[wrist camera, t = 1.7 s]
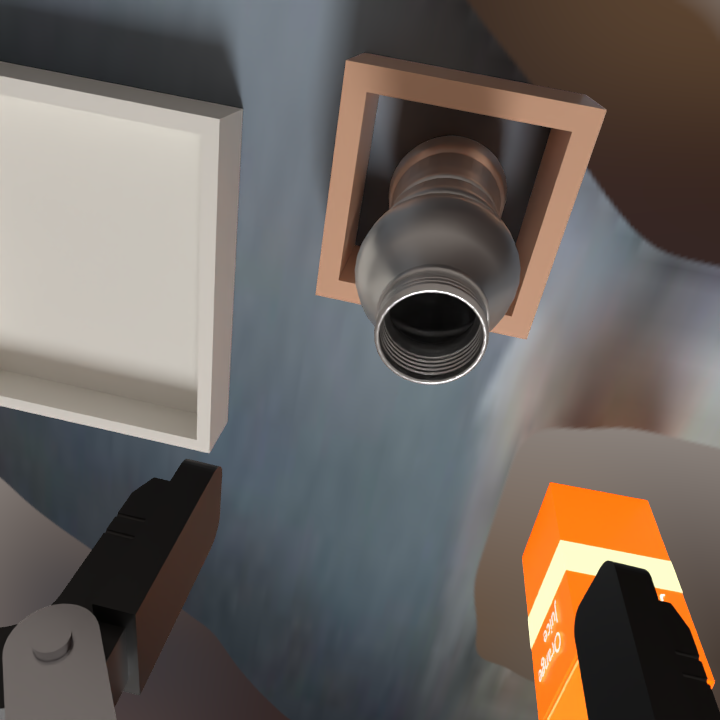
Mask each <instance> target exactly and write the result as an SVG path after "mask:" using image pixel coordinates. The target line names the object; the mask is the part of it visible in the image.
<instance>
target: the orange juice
mask: <svg viewBox="0 0 720 720" xmlns="http://www.w3.org/2000/svg"><path fill="white" fill-rule="evenodd" d="M522 560H523V569H524V580H525V589H526V599H527V609H528V625H529V635H530V645H531V649H532V657H533V668H534V677H535V687H536V697H537V707H538V716H539V720H588V716H587V710H586V704H585V698H584V692H583V686H582V680H581V674H580V668H579V662H578V656H577V650H576V644H575V638H574V622H575V616H576V612H577V609H578V606H579V604H580V602H581V601H582V599H583V597H584V595H585V594H586V592H587V590H588V588H589V587H590V585H591V583H592V581H593V579H594V578H595V576H596V574H597V572H598V571H599V569H600V567H601V566H602V564H603V563H604V562H605V561H608V560H609V561H613V562H617V563H622V564H626V565H630V566H634V567H638V568H643V569H646V570H647V571H648V572H649V573H650V575H651V577H652V580H653V583H654V586H655V589H656V593H657V596H658V599H659V600H660V601H665V602H669V603H671V604H672V605H673V606H674V608H675V609H676V611H677V612H678V613H679V615H680V616H681V617H682V619H683V620H684V621H685V623H686V624H687V626H688V627H689V628H690V630H691V633H692V636H693V639H694V642H695V644H696V647H697V650H698V653H699V661H702V664H703V667H704V670H705V672H706V675H707V678H708V679H707V683H708V684H710V686H711V685H712V686H711V689H712V687H713V685H714V678H713V676H712V673H711V671H710V668H709V665H708V662H707V660H706V657H705V654H704V651H703V649H702V646H701V643H700V641H699V638H698V635H697V632H696V630H695V627H694V624H693V622H692V619H691V616H690V614H689V611H688V608H687V605H686V603H685V600H684V598H683V595H682V593H683V592H682V589H681V587H680V584H679V581H678V579H677V576H676V574H675V571H674V568H673V565H672V563H671V561H670V560H669V557H668V554H667V551H666V549H665V546H664V543H663V541H662V538H661V535H660V533H659V530H658V527H657V524H656V522H655V519H654V516H653V514H652V511H651V508H650V506H649V503H648V501H647V500H643V499H637V498H632V497H627V496H621V495H616V494H610V493H605V492H600V491H595V490H589V489H583V488H578V487H573V486H568V485H563V484H557V483H552V482H550V484H549V487H548V489H547V492H546V495H545V497H544V500H543V503H542V506H541V508H540V511H539V514H538V516H537V519H536V522H535V524H534V527H533V530H532V532H531V535H530V538H529V540H528V543H527V546H526V549H525V551H524V554H523V557H522Z"/></svg>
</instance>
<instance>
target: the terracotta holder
mask: <svg viewBox="0 0 720 720" xmlns="http://www.w3.org/2000/svg"><path fill="white" fill-rule="evenodd" d="M379 95H384V96H389V97H394V98H400V99H405V100H410V101H415V102H420V103H425V104H431V105H436V106H441V107H446V108H451V109H457V110H462V111H467V112H472V113H477V114H482V115H488V116H493V117H498V118H503V119H508V120H514V121H519V122H524V123H529V124H534V125H539V126H545V127H550V128H551V131H550V134H549V138H548V141H547V144H546V147H545V151H544V154H543V157H542V160H541V163H540V167H539V170H538V173H537V176H536V180H535V183H534V186H533V189H532V193H531V196H530V199H529V202H528V206H527V209H526V212H525V215H524V218H523V222H522V225H521V228H520V231H519V235H518V238H517V241H516V244H515V245H516V248H517V251H518V253H519V260H520V268H521V270H520V281H519V286H518V289H517V292H516V295H515V298H514V300H513V302H512V303H511V305H510V307H509V309H508V310H507V312H506V314H505V315H504V317H503V318H502V319H501V320H500V322H499V323H498V324H497V325H496V326H495V327H494V329H492V330H491V331H490V332H494V333H499V334H503V335H508V336H513V337H518V338H522V339H527V336H528V334H529V331H530V328H531V325H532V322H533V319H534V316H535V314H536V311H537V308H538V305H539V302H540V299H541V296H542V294H543V291H544V288H545V285H546V282H547V279H548V276H549V274H550V271H551V268H552V265H553V262H554V259H555V256H556V254H557V251H558V248H559V245H560V242H561V239H562V236H563V234H564V231H565V228H566V225H567V222H568V219H569V216H570V214H571V211H572V208H573V205H574V202H575V199H576V196H577V194H578V191H579V188H580V185H581V182H582V179H583V176H584V174H585V171H586V168H587V165H588V162H589V159H590V156H591V153H592V151H593V148H594V145H595V142H596V139H597V136H598V134H599V131H600V128H601V125H602V122H603V119H604V117H605V113H606V111H607V110H606V109H605V108H603V107H602V106H601V105H599V104H598V103H596V102H595V101H593V100H592V99H591V98H589V97H588V96H586V95H585V94H579V93H575V92H570V91H565V90H559V89H554V88H548V87H543V86H538V85H533V84H528V83H522V82H517V81H512V80H507V79H501V78H496V77H491V76H486V75H480V74H475V73H470V72H464V71H459V70H454V69H449V68H443V67H438V66H433V65H428V64H422V63H417V62H412V61H406V60H401V59H396V58H391V57H385V56H380V55H375V54H370V53H362V54H360V55H357V56H355V57H352V58H350V59H348V60H346V64H345V71H344V79H343V87H342V95H341V102H340V110H339V118H338V125H337V133H336V141H335V149H334V156H333V164H332V172H331V180H330V187H329V195H328V203H327V210H326V218H325V226H324V234H323V241H322V249H321V257H320V264H319V272H318V280H317V288H316V295H319V296H324V297H328V298H333V299H338V300H343V301H347V302H352V303H357V304H361V302H360V299H359V296H358V292H357V288H356V285H355V265H356V259H357V255H358V252H359V249H360V247H361V246H358V245H355V243H356V237H357V230H358V224H359V218H360V212H361V205H362V199H363V193H364V187H365V180H366V174H367V168H368V162H369V155H370V149H371V143H372V137H373V131H374V124H375V118H376V112H377V106H378V99H379Z"/></svg>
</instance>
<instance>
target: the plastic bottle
mask: <svg viewBox="0 0 720 720" xmlns="http://www.w3.org/2000/svg"><path fill="white" fill-rule="evenodd" d="M506 198H507V183H506V176H505V173H504V171H503V168H502V166H501V164H500V162H499V161H498V159H497V158H496V156H495V155H494V154H493V153H492V152H491V151H490V150H489V149H488V148H486V147H485V146H483V145H482V144H480V143H479V142H477V141H474V140H472V139H469V138H466V137H461V136H455V135H454V136H442V137H437V138H433V139H430V140H428V141H426V142H424V143H421V144H419V145H418V146H416V147H415V148H414V149H412V150H411V151H409V153H408V154H407V155H406V156H405V157H404V158H403V159H402V160H401V161H400V163H399V164H398V166H397V168H396V169H395V171H394V174H393V176H392V179H391V182H390V188H389V210H388V211H387V212H386V213H385V214H384V215H383V216H382V217H381V218H380V219H379V220H378V221H377V222H376V223H375V224H374V225H373V227H372V228H371V230H370V231H369V233H368V234H367V236H366V237H365V239H364V240H363V242H362V244H361V247H360V249H359V252H358V255H357V259H356V265H355V285H356V288H357V292H358V296H359V299H360V302H361V306H362V307H363V309H364V311H365V313H366V315H367V317H368V319H369V320H370V321H371V322H372V324H373V325H374V326H375V330H374V334H375V344H376V348H377V352H378V354H379V355H380V357H381V359H382V361H383V362H384V363H385V365H386V366H387V367H388V368H389V369H390V370H392V371H393V372H394V373H395V374H397V375H398V376H400V377H402V378H404V379H406V380H409V381H412V382H415V383H420V384H432V385H436V384H443V383H448V382H451V381H454V380H457V379H459V378H461V377H463V376H465V375H466V374H467V373H469V372H470V371H471V370H473V369H474V368H475V366H476V365H477V364H478V363H479V362H480V360H481V359H482V357H483V355H484V353H485V350H486V347H487V344H488V338H489V332H490V331H491V330H492V329H494V327H495V326H496V325H497V324H498V323H499V322H500V320H501V319H502V318H503V317H504V315H505V314H506V312H507V310H508V309H509V307H510V305H511V303H512V302H513V300H514V298H515V295H516V292H517V289H518V286H519V281H520V270H521V268H520V260H519V253H518V251H517V248H516V245H515V243H514V240H513V238H512V235H511V233H510V231H509V230H508V228H507V226H506V225H505V223H504V222H503V220H502V219H501V216H502V213H503V209H504V206H505V202H506Z"/></svg>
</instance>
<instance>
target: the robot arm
mask: <svg viewBox="0 0 720 720" xmlns="http://www.w3.org/2000/svg"><path fill="white" fill-rule="evenodd" d="M221 484H222V468H221V467H219V466H215V465H211V464H207V463H203V462H198V461H194V460H190V459H185V460H184V461H183V462H182V463H181V465H180V466H179V468H178V470H177V471H176V473H175V474H174V476H173V477H172V479H171V481H167V480H163V479H158V478H153V479H151V480H150V481H148V482H147V483H145V484H144V485H142V486H141V487H139V488H138V489H137V490H135V491H134V492H132V494H131V495H130V496H129V498H128V499H127V501H126V502H125V504H124V505H123V506H122V508H121V509H120V511H119V512H118V515H117V517H115V518H114V519H113V521H112V522H111V523H110V525H109V526H108V528H107V530H106V533H103V535H102V536H101V538H100V539H99V541H98V542H97V543H96V545H95V546H94V548H93V549H92V551H91V552H90V554H89V555H88V556H87V558H86V559H85V561H84V562H83V563H82V565H81V566H80V568H79V569H78V571H77V572H76V573H75V575H74V576H73V578H72V579H71V581H70V582H69V583H68V585H67V586H66V588H65V589H64V591H63V592H62V594H61V595H60V596H59V597H58V599H57V600H56V601H55V602H54V603H53V604H52V605H51V606H48V607H45V608H42V609H40V610H38V611H35V612H33V613H32V614H30V615H29V616H27V617H26V618H24V619H23V620H22V621H21V622H20V623H19V624H16V625H12V626H8V627H2V628H0V720H116V715H115V710H114V707H115V705H116V704H117V702H118V700H119V697H120V696H121V694H122V692H123V691H125V692H129V693H133V694H137V695H140V694H141V692H142V690H143V688H144V686H145V684H146V682H147V679H148V677H149V675H150V673H151V671H152V669H153V667H154V665H155V663H156V661H157V659H158V657H159V655H160V652H161V651H162V648H163V646H164V644H165V642H166V640H167V638H168V636H169V634H170V632H171V630H172V627H173V625H174V623H175V621H176V619H177V617H178V615H179V613H180V611H181V609H182V607H183V605H184V603H185V601H186V599H187V597H188V594H189V592H190V590H191V588H192V586H193V584H194V582H195V580H196V578H197V576H198V574H199V572H200V569H201V567H202V565H203V563H204V561H205V559H206V557H207V555H208V553H209V551H210V549H211V546H212V544H213V542H214V539H215V536H216V532H217V528H218V524H219V518H220V501H221ZM574 638H575V644H576V650H577V656H578V662H579V668H580V674H581V680H582V686H583V692H584V698H585V704H586V710H587V716H588V720H720V712H719V709H718V706H717V703H716V700H715V698H714V695H713V692H712V689H711V686H710V684H708V683H707V679H708V678H707V675H706V672H705V670H704V667H703V664H702V661H699V653H698V650H697V647H696V644H695V642H694V639H693V636H692V633H691V630H690V628H689V627H688V626H687V624H686V623H685V621H684V620H683V619H682V617H681V616H680V615H679V613H678V612H677V611H676V609H675V608H674V606H673V605H672V604H671V603H669V602H665V601H660V600H659V599H658V596H657V593H656V589H655V586H654V583H653V580H652V577H651V575H650V573H649V572H648V571H647V570H646V569H643V568H638V567H634V566H630V565H626V564H622V563H617V562H613V561H609V560H608V561H605V562H604V563H603V564H602V566H601V567H600V569H599V571H598V572H597V574H596V576H595V578H594V579H593V581H592V583H591V585H590V587H589V588H588V590H587V592H586V594H585V595H584V597H583V599H582V601H581V602H580V604H579V606H578V609H577V612H576V616H575V622H574Z"/></svg>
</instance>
